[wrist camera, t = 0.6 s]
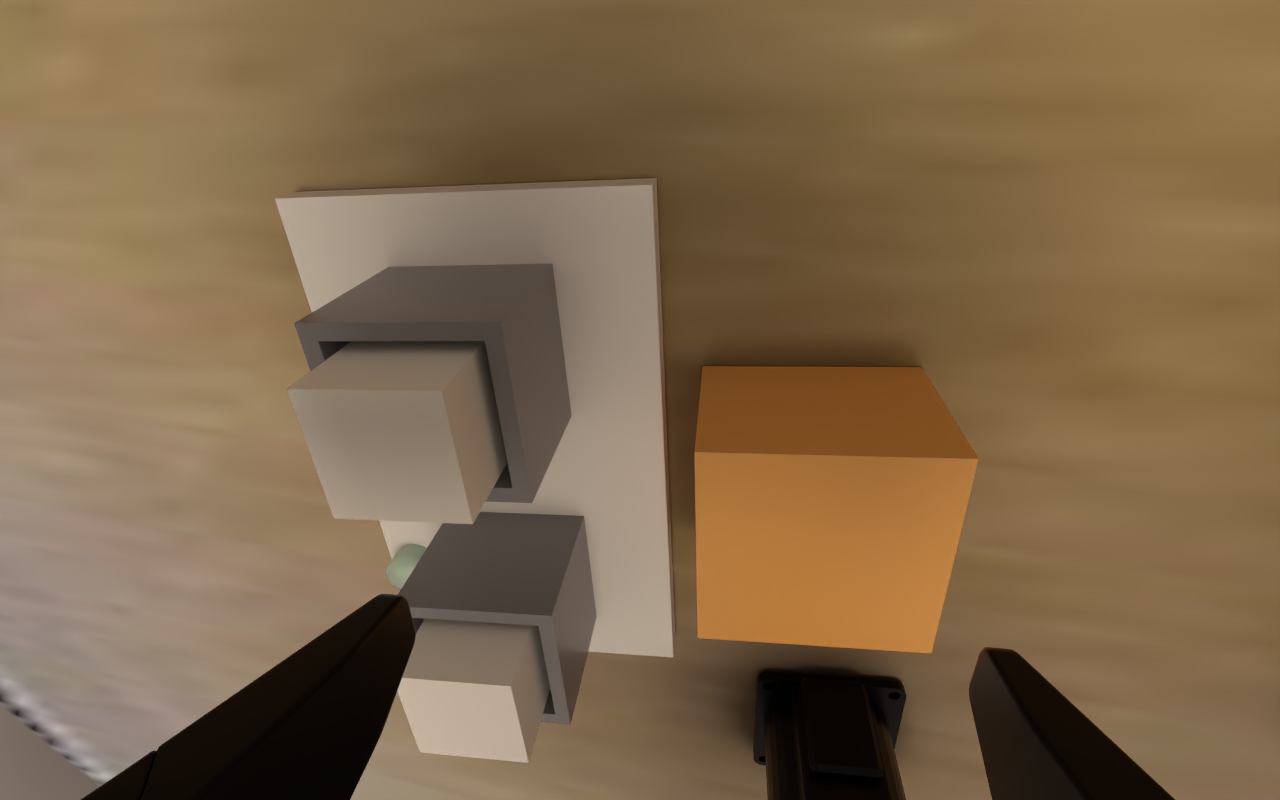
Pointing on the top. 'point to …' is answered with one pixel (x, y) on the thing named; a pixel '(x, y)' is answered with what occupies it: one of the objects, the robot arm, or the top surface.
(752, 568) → the cap
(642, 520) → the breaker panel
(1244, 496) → the top surface
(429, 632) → the block
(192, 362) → the top surface
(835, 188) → the top surface
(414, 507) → the block
